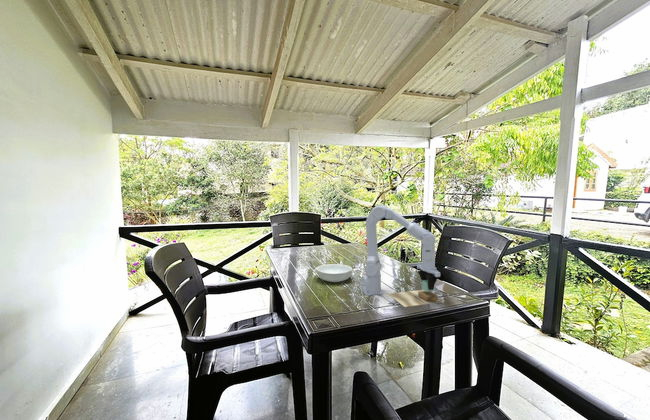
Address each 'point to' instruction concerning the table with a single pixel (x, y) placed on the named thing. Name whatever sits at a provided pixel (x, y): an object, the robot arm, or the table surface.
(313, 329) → the table surface
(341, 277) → the serving bowl
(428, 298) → the walnut slab
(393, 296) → the build board
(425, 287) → the teal block
